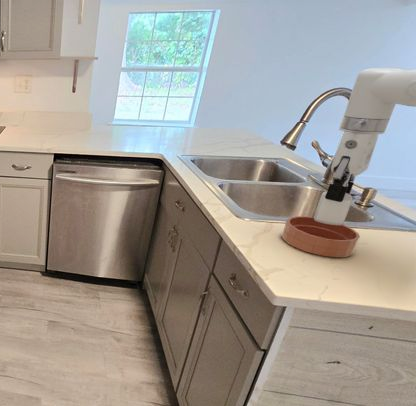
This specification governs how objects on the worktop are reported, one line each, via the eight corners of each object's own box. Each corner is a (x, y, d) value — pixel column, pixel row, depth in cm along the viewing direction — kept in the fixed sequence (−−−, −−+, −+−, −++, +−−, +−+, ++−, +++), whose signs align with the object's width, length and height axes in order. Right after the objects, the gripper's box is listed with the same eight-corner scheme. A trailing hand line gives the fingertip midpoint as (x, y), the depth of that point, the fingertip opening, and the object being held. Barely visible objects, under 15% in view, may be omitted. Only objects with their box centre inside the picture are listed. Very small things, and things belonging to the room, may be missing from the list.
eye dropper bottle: (336, 228, 91) (353, 182, 86) (309, 219, 95) (324, 176, 91) (345, 224, 92) (363, 179, 88) (319, 216, 97) (334, 173, 92)
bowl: (359, 247, 95) (366, 230, 93) (341, 264, 88) (349, 247, 86) (292, 227, 106) (298, 211, 104) (272, 241, 99) (278, 225, 97)
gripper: (376, 132, 77) (346, 211, 84) (395, 122, 86) (366, 194, 93) (330, 127, 83) (305, 201, 90) (352, 118, 91) (328, 187, 98)
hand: (336, 197), depth 91 cm, fingers closed on eye dropper bottle, 3 cm apart
